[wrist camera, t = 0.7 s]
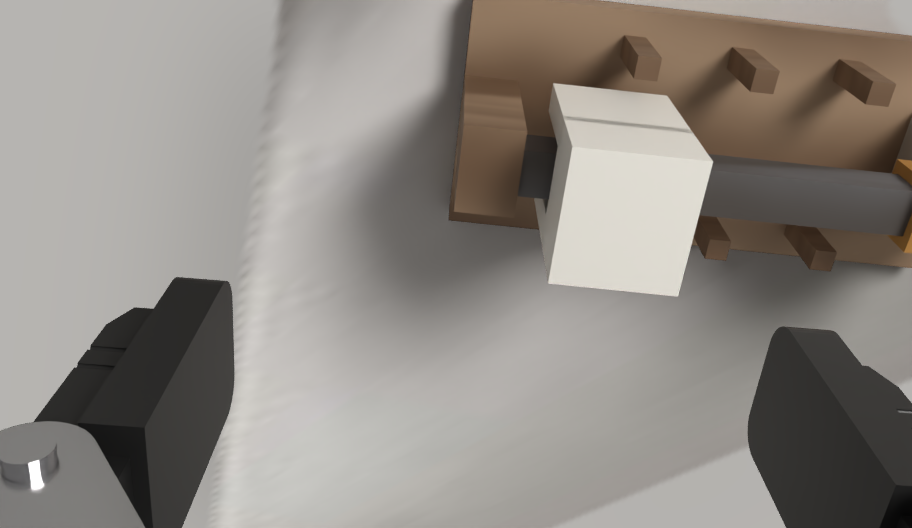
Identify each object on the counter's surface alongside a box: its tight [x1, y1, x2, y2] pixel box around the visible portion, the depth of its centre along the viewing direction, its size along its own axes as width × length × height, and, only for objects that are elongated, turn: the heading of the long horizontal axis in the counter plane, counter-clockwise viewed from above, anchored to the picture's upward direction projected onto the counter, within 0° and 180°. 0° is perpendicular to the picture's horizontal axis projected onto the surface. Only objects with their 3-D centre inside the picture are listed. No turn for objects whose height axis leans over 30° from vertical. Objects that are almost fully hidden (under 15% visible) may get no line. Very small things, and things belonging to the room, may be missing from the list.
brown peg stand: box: [449, 0, 912, 271], centre depth 30 cm, size 9×20×9 cm, turn 84°
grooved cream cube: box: [534, 83, 713, 297], centre depth 28 cm, size 4×4×6 cm
